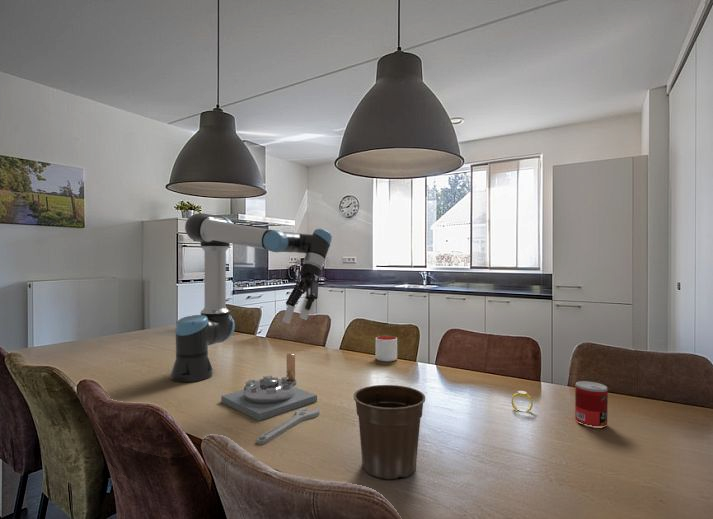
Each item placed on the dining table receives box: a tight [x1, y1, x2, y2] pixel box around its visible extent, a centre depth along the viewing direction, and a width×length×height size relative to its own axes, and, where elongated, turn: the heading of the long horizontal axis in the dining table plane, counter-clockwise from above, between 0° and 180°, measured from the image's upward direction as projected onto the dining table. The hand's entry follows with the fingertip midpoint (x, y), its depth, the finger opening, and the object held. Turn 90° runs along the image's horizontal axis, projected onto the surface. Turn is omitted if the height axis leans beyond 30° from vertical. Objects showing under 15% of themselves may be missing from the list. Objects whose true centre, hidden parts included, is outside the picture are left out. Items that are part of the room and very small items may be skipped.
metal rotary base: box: [243, 352, 297, 404], centre depth 133 cm, size 17×16×13 cm
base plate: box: [220, 386, 318, 422], centre depth 133 cm, size 22×22×2 cm
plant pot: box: [353, 384, 426, 480], centre depth 93 cm, size 16×16×16 cm
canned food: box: [574, 380, 609, 426], centre depth 116 cm, size 8×8×11 cm
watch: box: [511, 390, 534, 412], centre depth 126 cm, size 6×3×6 cm, turn 67°
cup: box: [375, 335, 398, 363], centre depth 188 cm, size 10×10×10 cm
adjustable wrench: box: [256, 406, 320, 445], centre depth 115 cm, size 25×6×2 cm, turn 148°
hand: (294, 320), depth 143 cm, fingers open, 13 cm apart
